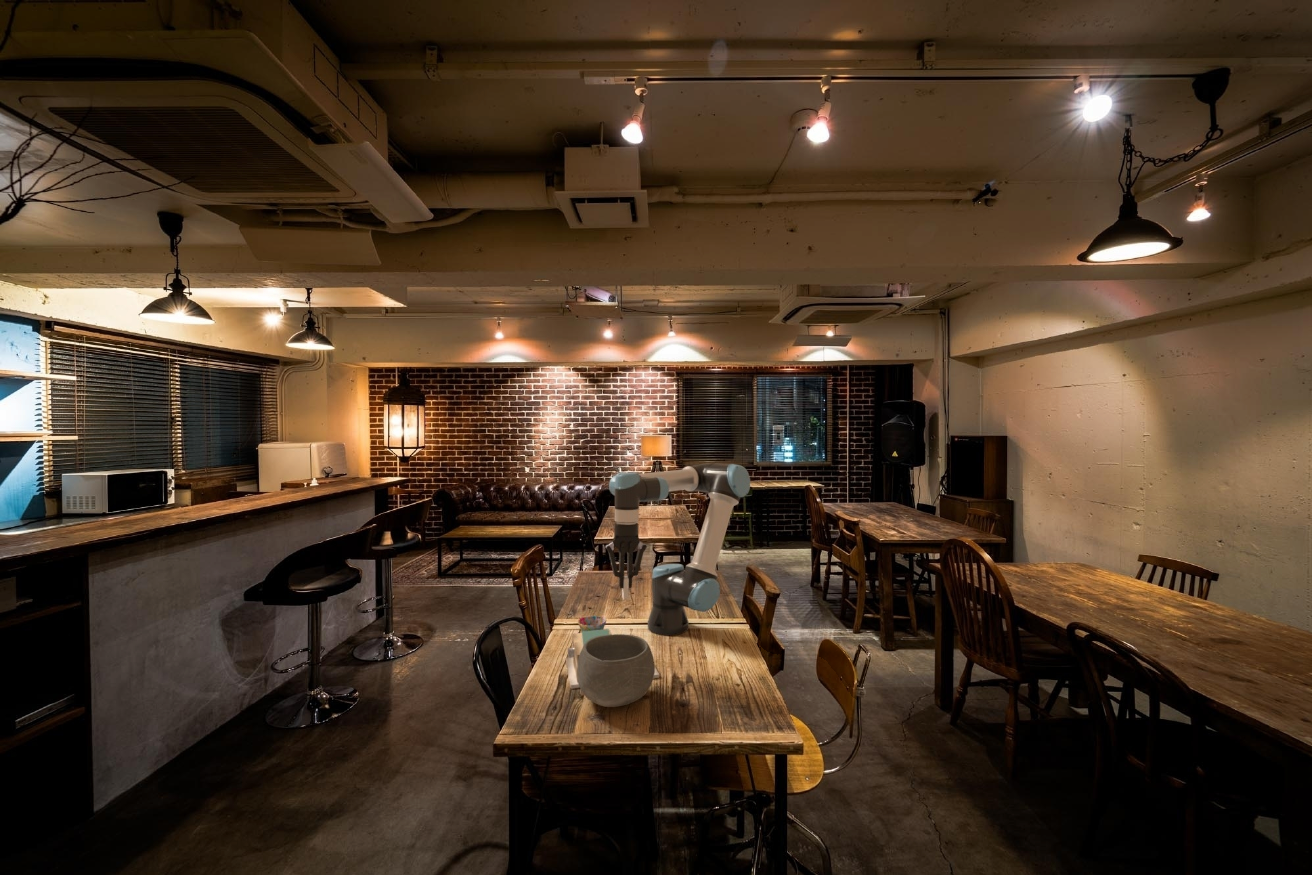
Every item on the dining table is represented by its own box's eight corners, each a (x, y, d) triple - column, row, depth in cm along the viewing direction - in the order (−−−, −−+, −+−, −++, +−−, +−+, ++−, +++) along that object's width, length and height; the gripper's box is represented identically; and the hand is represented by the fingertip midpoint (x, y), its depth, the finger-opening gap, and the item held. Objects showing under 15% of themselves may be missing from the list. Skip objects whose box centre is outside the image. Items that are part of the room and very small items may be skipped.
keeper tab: (609, 630, 157) (609, 628, 157) (612, 649, 152) (612, 647, 152) (581, 633, 155) (581, 631, 155) (583, 652, 150) (583, 650, 150)
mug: (602, 659, 166) (602, 626, 166) (574, 657, 167) (574, 624, 167) (611, 644, 178) (611, 613, 177) (585, 642, 179) (585, 612, 179)
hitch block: (645, 652, 171) (645, 625, 171) (659, 677, 154) (659, 647, 154) (565, 661, 165) (565, 633, 165) (570, 688, 147) (570, 657, 147)
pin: (615, 651, 165) (615, 637, 165) (618, 657, 160) (618, 643, 160) (567, 657, 161) (567, 642, 161) (568, 663, 157) (568, 648, 157)
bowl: (662, 686, 149) (662, 634, 149) (644, 726, 128) (644, 666, 128) (592, 678, 154) (592, 627, 153) (564, 716, 133) (564, 658, 133)
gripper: (644, 519, 166) (642, 593, 166) (603, 520, 163) (602, 596, 163) (649, 523, 159) (648, 600, 159) (607, 524, 156) (606, 603, 156)
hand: (625, 598), depth 161 cm, fingers closed
